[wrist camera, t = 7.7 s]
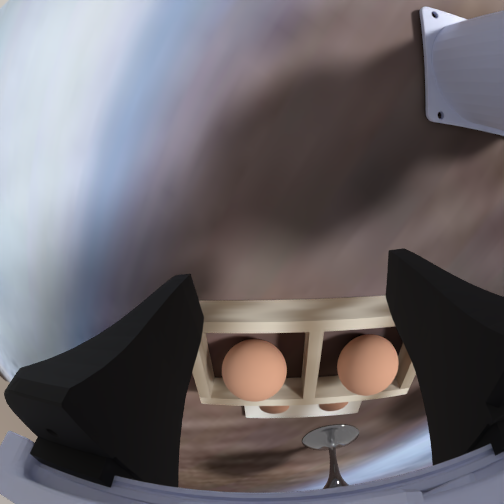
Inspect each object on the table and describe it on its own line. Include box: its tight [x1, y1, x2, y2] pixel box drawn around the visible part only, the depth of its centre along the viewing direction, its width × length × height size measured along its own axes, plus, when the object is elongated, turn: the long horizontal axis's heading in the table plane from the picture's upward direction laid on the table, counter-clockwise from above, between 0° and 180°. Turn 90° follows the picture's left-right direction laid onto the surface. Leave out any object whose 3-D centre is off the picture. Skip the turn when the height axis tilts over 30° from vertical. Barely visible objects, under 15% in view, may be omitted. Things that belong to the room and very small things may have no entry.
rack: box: [192, 296, 416, 418], centre depth 25 cm, size 19×16×2 cm
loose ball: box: [222, 339, 287, 402], centre depth 23 cm, size 5×5×5 cm
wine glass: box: [302, 424, 359, 489], centre depth 25 cm, size 8×8×15 cm
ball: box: [337, 334, 399, 396], centre depth 22 cm, size 5×5×5 cm
